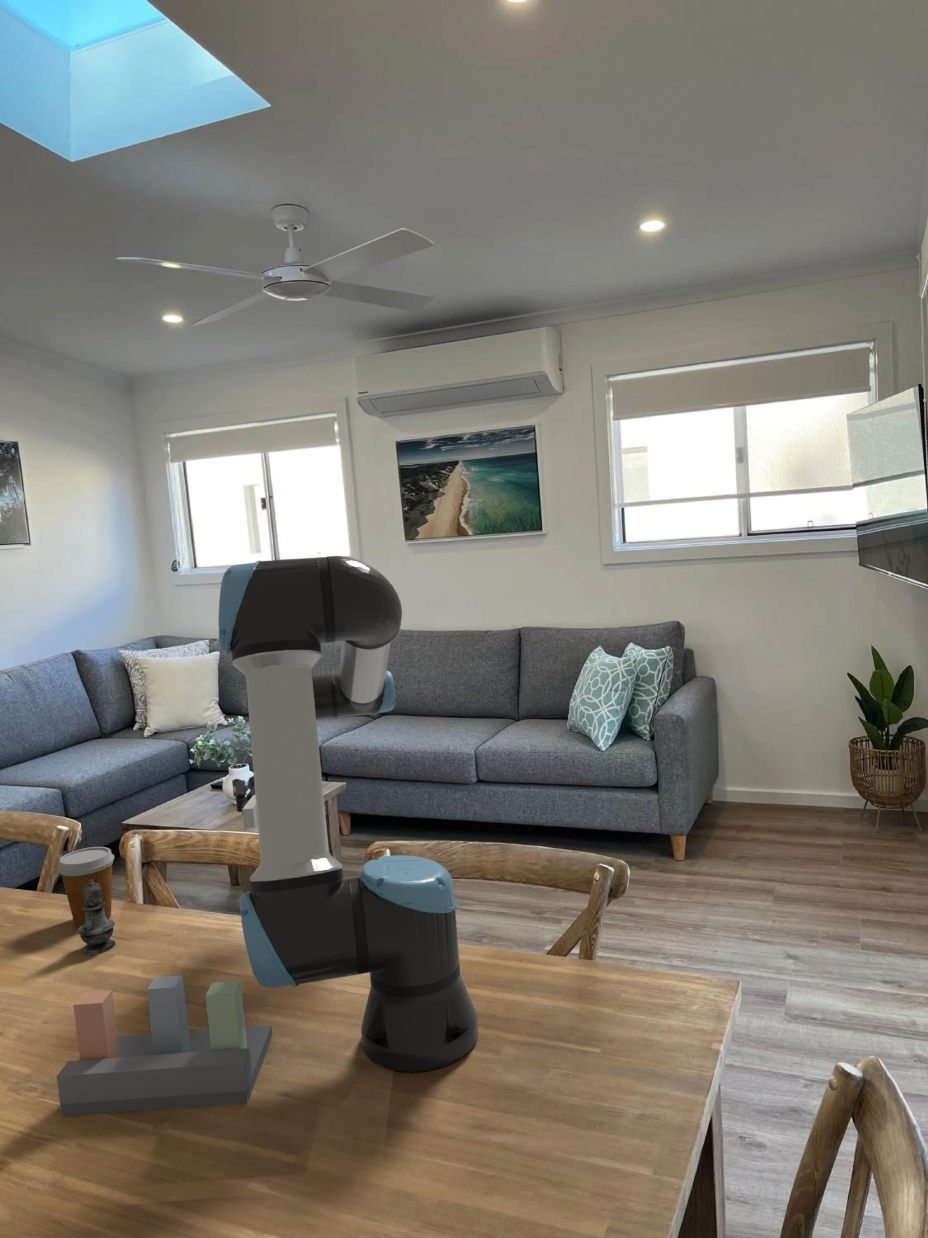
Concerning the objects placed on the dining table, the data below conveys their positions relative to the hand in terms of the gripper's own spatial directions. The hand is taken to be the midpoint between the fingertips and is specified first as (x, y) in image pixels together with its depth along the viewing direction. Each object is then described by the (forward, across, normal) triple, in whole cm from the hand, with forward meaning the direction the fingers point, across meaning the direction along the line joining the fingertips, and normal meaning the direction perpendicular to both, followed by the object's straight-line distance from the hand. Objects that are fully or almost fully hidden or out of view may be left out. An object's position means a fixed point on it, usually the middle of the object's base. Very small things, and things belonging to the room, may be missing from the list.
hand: (248, 818), depth 122 cm
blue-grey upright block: (+13, +9, -26) cm, 31 cm away
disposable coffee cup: (-37, +40, -28) cm, 61 cm away
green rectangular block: (+15, +1, -26) cm, 30 cm away
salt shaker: (-25, +34, -28) cm, 51 cm away
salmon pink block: (+15, +17, -26) cm, 35 cm away
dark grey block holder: (+13, +9, -28) cm, 32 cm away
